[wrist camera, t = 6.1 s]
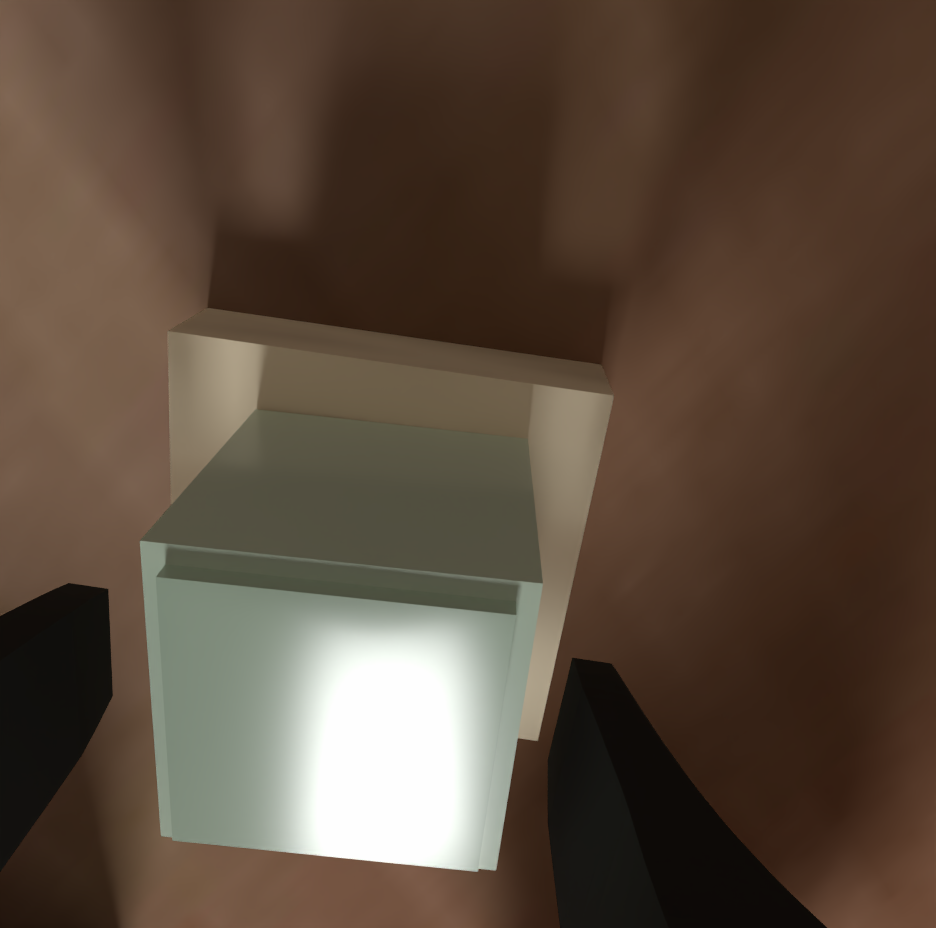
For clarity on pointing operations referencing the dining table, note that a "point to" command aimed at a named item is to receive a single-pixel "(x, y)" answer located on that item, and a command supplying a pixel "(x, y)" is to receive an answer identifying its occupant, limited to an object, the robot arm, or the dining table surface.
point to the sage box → (344, 640)
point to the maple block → (404, 420)
